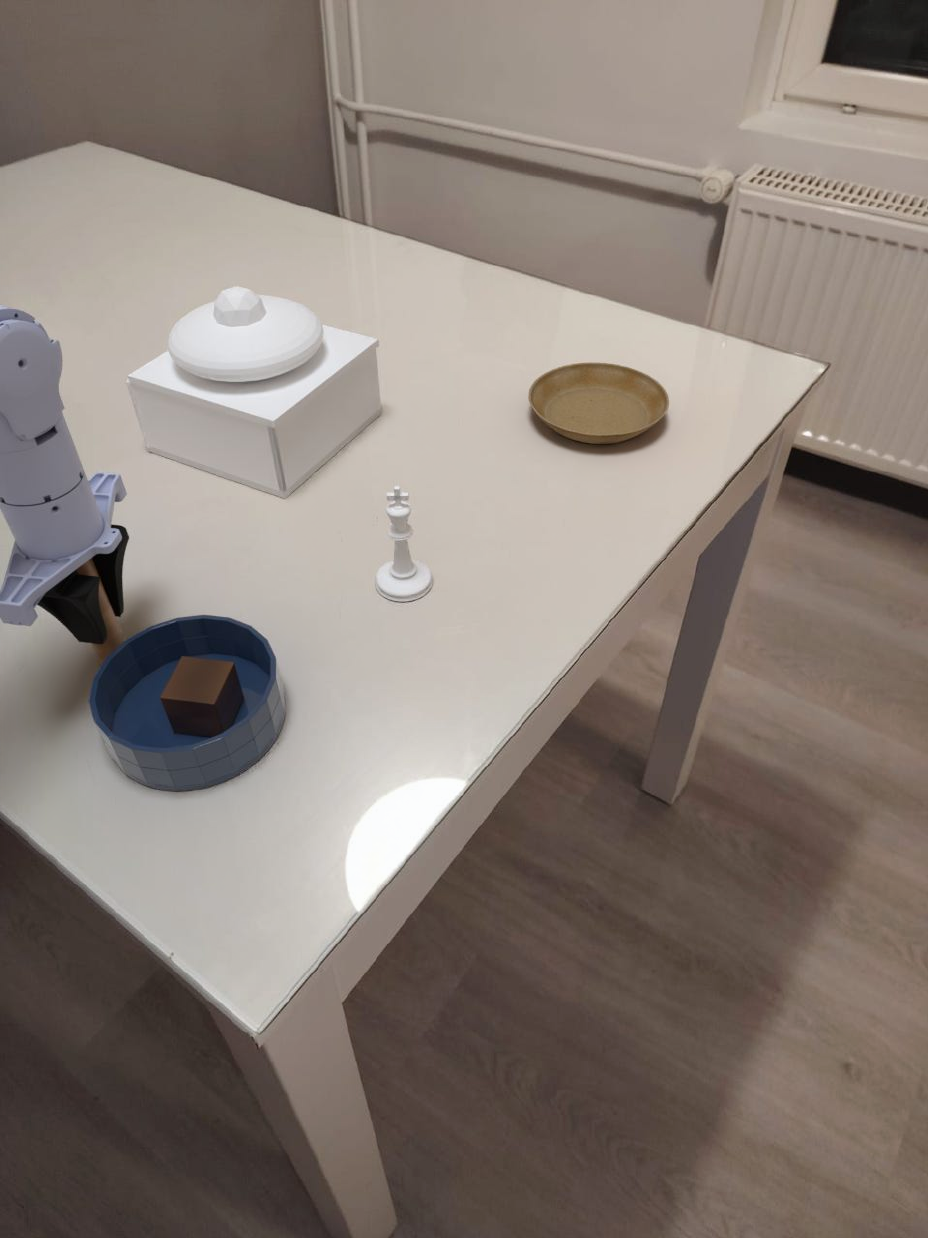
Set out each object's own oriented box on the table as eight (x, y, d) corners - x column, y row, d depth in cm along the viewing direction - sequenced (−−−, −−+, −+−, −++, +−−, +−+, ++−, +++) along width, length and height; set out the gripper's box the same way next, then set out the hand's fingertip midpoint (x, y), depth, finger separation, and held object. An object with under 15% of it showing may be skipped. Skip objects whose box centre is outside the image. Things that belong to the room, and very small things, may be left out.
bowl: (77, 779, 61) (55, 739, 57) (152, 647, 70) (137, 607, 66) (252, 802, 59) (240, 763, 56) (306, 665, 68) (298, 624, 65)
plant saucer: (581, 472, 86) (583, 449, 84) (501, 405, 95) (501, 384, 93) (694, 429, 91) (698, 408, 90) (608, 370, 101) (611, 349, 99)
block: (173, 733, 63) (159, 697, 60) (194, 691, 65) (181, 655, 63) (226, 740, 62) (214, 704, 59) (244, 697, 65) (234, 661, 62)
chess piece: (431, 602, 73) (426, 507, 66) (373, 601, 73) (362, 506, 66) (434, 563, 76) (429, 469, 69) (378, 563, 77) (368, 469, 70)
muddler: (93, 665, 68) (44, 559, 60) (107, 644, 70) (61, 537, 62) (122, 669, 68) (76, 562, 60) (135, 647, 70) (92, 541, 62)
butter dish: (253, 376, 100) (226, 235, 89) (385, 414, 94) (373, 269, 83) (147, 452, 89) (100, 302, 78) (288, 501, 83) (259, 346, 72)
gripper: (39, 557, 51) (108, 704, 61) (142, 425, 61) (186, 569, 71) (-69, 545, 52) (15, 692, 62) (49, 417, 62) (106, 561, 72)
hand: (101, 626), depth 66 cm, fingers closed on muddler, 2 cm apart
